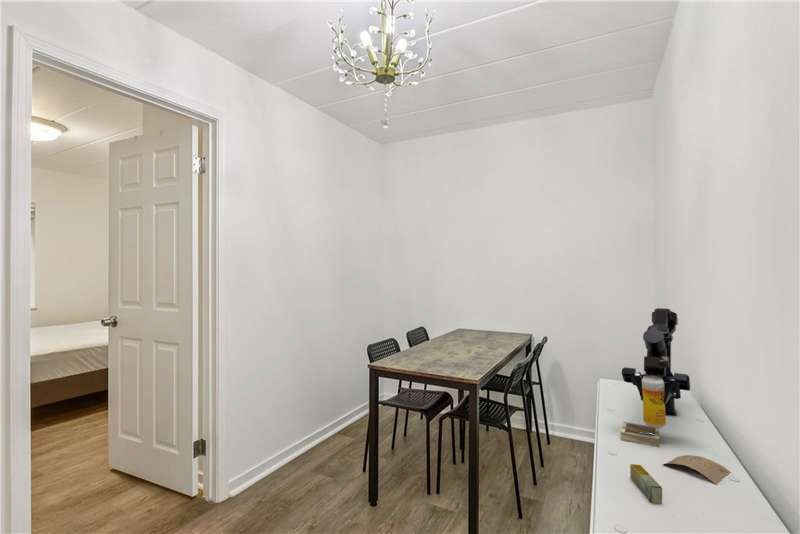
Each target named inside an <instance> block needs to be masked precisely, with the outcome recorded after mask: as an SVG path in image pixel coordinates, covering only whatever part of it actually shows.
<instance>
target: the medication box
mask: <svg viewBox="0 0 800 534" xmlns="http://www.w3.org/2000/svg"><path fill="white" fill-rule="evenodd" d="M629 469H630V470H629V471H630V472H629V473H630V479H631V481H632V482H633V483H634V484H635V485H636V487H637V488H638V489H639V490H640V492H642V494H643V496H644V497H645V498H646V499H647V500H648V502H649V503H651V504H655V505H656V504H657V505H660V504H661V505H662V504H663V487H662V486H661V485H660V484H659V483H658V482H657V481H656V480H655V479H654V478H653V476H652V475H651V474H650V473H648V471H646V469H645V468H644V467H643V466H642V465H641V464H634V463H633V464H632V463H630V468H629Z"/></svg>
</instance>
